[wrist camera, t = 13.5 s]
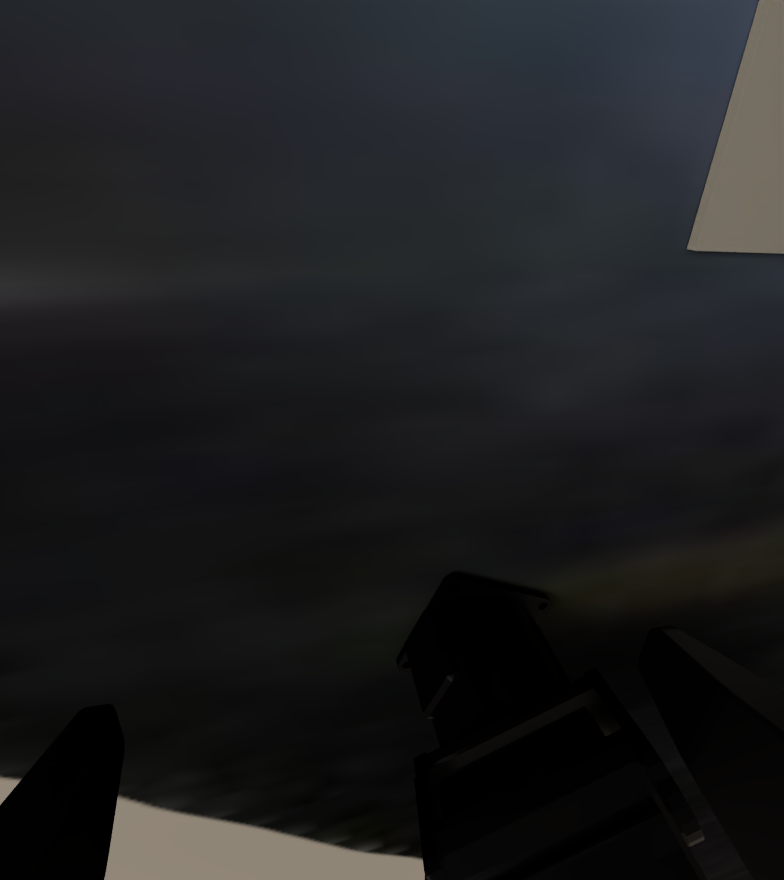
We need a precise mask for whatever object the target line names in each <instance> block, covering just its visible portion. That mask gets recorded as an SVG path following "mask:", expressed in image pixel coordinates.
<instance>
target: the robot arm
mask: <svg viewBox="0 0 784 880" xmlns="http://www.w3.org/2000/svg"><path fill="white" fill-rule="evenodd" d="M453 583H455V584H453ZM451 584H453V585H451ZM551 605H552V602H551V601H550V599H549V598H548V596H547V595H546V594H543V593H539V592H534V591H530V590H526V589H521V588H517V587H513V586H508V585H504V584H500V583H495V582H491V581H487V580H482V579H478V578H474V577H469V576H465V575H461V574H456V573H452V574H449V575H447V576H446V577H445V578H444V579H443V581H442V582H441V584H440V586H439V587H438V589H437V591H436V592H435V594H434V596H433V598H432V599H431V601H430V603H429V604H428V606H427V608H426V609H425V610H424V611H423V613H422V615H421V616H420V618H419V620H418V622H417V623H416V625H415V627H414V628H413V630H412V632H411V633H410V635H409V637H408V639H407V640H406V642H405V644H404V647H403V648H402V650H401V652H400V653H399V655H398V657H397V659H396V661H397V665H398V669H399V670H400V671H403V672H409V673H412V675H413V679H414V682H415V686H416V690H417V693H418V697H419V700H420V704H421V708H422V711H423V713H424V715H425V717H426V718H431V719H432V721H433V724H434V728H435V731H436V735H437V738H438V742H439V745H440V748H438V749H436V750H434V751H432V752H430V753H428V754H427V753H426V752H425V753H423V754H421V755H419V756H417V757H415V758H414V764H415V773H416V778H414V782H415V791H416V800H417V809H418V818H419V827H420V837H421V846H422V855H423V864H424V871H425V880H707V878H706V877H705V875H704V873H703V871H702V870H701V868H700V866H699V864H698V863H697V861H696V859H695V857H694V856H693V854H692V852H691V850H690V849H689V847H690V846H693V845H695V844H697V843H699V842H701V841H703V840H704V835H703V833H702V830H701V828H700V826H699V824H698V822H697V820H696V818H695V816H694V814H693V812H692V810H691V809H690V807H689V805H688V803H687V801H686V800H685V798H684V796H683V795H682V793H681V791H680V789H679V788H678V786H677V784H676V783H675V781H674V779H673V778H672V776H671V774H670V773H669V771H668V770H667V768H666V767H665V765H664V763H663V762H662V760H661V759H660V757H659V756H658V754H657V753H656V751H655V750H654V748H653V747H652V745H651V744H650V742H649V741H648V740H647V738H646V737H645V735H644V734H643V733H642V731H641V730H640V728H639V727H638V726H637V724H636V723H635V722H634V720H633V719H632V717H631V716H630V715H629V713H628V712H627V711H626V709H625V708H624V706H623V705H622V704H621V702H620V701H619V700H618V698H617V697H616V695H615V694H614V693H613V691H612V690H611V689H610V687H609V686H608V684H607V683H606V682H605V680H604V679H603V678H602V676H601V675H600V673H599V672H598V671H597V669H596V668H593V669H591V670H589V671H587V672H585V673H584V676H582V677H580V678H578V679H576V680H574V681H572V682H571V681H570V679H569V678H568V676H567V674H566V673H565V671H564V669H563V668H562V666H561V664H560V662H559V661H558V659H557V657H556V656H555V654H554V652H553V650H552V649H551V647H550V645H549V644H548V642H547V640H546V639H545V637H544V635H543V633H542V632H541V630H540V628H539V627H538V625H539V623H540V622H541V620H542V619H543V618H544V616H545V615H546V613H547V612H548V610H549V609H550V608H551ZM638 663H639V669H640V672H641V675H642V677H643V679H644V681H645V683H646V685H647V687H648V689H649V691H650V693H651V695H652V698H653V700H654V702H655V704H656V706H657V708H658V710H659V712H660V714H661V716H662V718H663V720H664V723H665V725H666V727H667V729H668V731H669V733H670V735H671V737H672V739H673V741H674V743H675V745H676V747H677V749H678V751H679V753H680V755H681V757H682V759H683V761H684V762H685V764H686V766H687V768H688V770H689V771H690V773H691V775H692V777H693V778H694V780H695V782H696V783H697V785H698V787H699V788H700V790H701V792H702V794H703V795H704V797H705V799H706V800H707V802H708V804H709V805H710V807H711V809H712V811H713V812H714V814H715V816H716V817H717V819H718V821H719V822H720V824H721V826H722V828H723V829H724V831H725V833H726V834H727V836H728V838H729V839H730V841H731V843H732V844H733V846H734V848H735V850H736V851H737V853H738V855H739V856H740V858H741V860H742V861H743V863H744V865H745V867H746V868H747V870H748V872H749V873H750V875H751V877H752V878H753V880H784V691H782V690H780V689H779V688H777V687H775V686H774V685H772V684H770V683H769V682H767V681H765V680H764V679H762V678H760V677H759V676H757V675H755V674H754V673H752V672H750V671H749V670H747V669H745V668H744V667H742V666H740V665H739V664H737V663H735V662H734V661H732V660H730V659H729V658H727V657H725V656H724V655H722V654H720V653H719V652H717V651H715V650H714V649H712V648H710V647H709V646H707V645H705V644H704V643H702V642H700V641H699V640H697V639H695V638H694V637H692V636H690V635H689V634H687V633H685V632H684V631H682V630H680V629H678V628H677V627H674V626H664V627H657V628H653V629H651V630H650V631H649V633H648V635H647V638H646V640H645V643H644V645H643V648H642V651H641V653H640V656H639V662H638ZM123 758H124V736H123V733H122V730H121V726H120V723H119V720H118V716H117V713H116V710H115V708H114V706H113V705H111V704H105V705H98V706H90V707H86V708H83V709H82V710H80V711H79V712H78V713H77V714H76V715H75V716H74V717H73V719H72V720H71V721H70V722H69V723H68V725H67V726H66V727H65V728H64V729H63V731H62V732H61V733H60V734H59V735H58V737H57V738H56V739H55V740H54V741H53V743H52V744H51V745H50V746H49V747H48V749H47V750H46V751H45V752H44V753H43V755H42V756H41V757H40V758H39V759H38V761H37V762H36V763H35V764H34V765H33V767H32V768H31V769H30V770H29V771H28V773H27V774H26V775H25V776H24V777H23V779H22V780H21V781H20V782H19V783H18V785H17V786H16V787H15V788H14V789H13V791H12V792H11V793H10V794H9V796H8V797H7V798H6V799H5V800H4V801H3V803H2V804H1V805H0V880H104V877H105V872H106V867H107V861H108V854H109V849H110V842H111V835H112V829H113V823H114V816H115V809H116V803H117V797H118V790H119V784H120V777H121V771H122V764H123ZM688 846H689V847H688Z"/></svg>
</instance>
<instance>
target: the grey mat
mask: <svg viewBox="0 0 784 880" xmlns="http://www.w3.org/2000/svg"><path fill="white" fill-rule="evenodd" d="M687 249H689V250H694V251H717V252H749V253H781V254H784V0H759V3H758V6H757V10H756V13H755V17H754V20H753V24H752V27H751V30H750V34H749V37H748V41H747V44H746V48H745V51H744V54H743V58H742V61H741V65H740V68H739V72H738V75H737V79H736V82H735V85H734V89H733V92H732V96H731V99H730V103H729V106H728V109H727V113H726V116H725V120H724V123H723V127H722V130H721V133H720V137H719V140H718V144H717V147H716V151H715V154H714V158H713V161H712V164H711V168H710V171H709V175H708V178H707V182H706V185H705V188H704V192H703V195H702V199H701V202H700V206H699V209H698V212H697V216H696V219H695V223H694V226H693V230H692V233H691V237H690V240H689V243H688V247H687Z"/></svg>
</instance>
